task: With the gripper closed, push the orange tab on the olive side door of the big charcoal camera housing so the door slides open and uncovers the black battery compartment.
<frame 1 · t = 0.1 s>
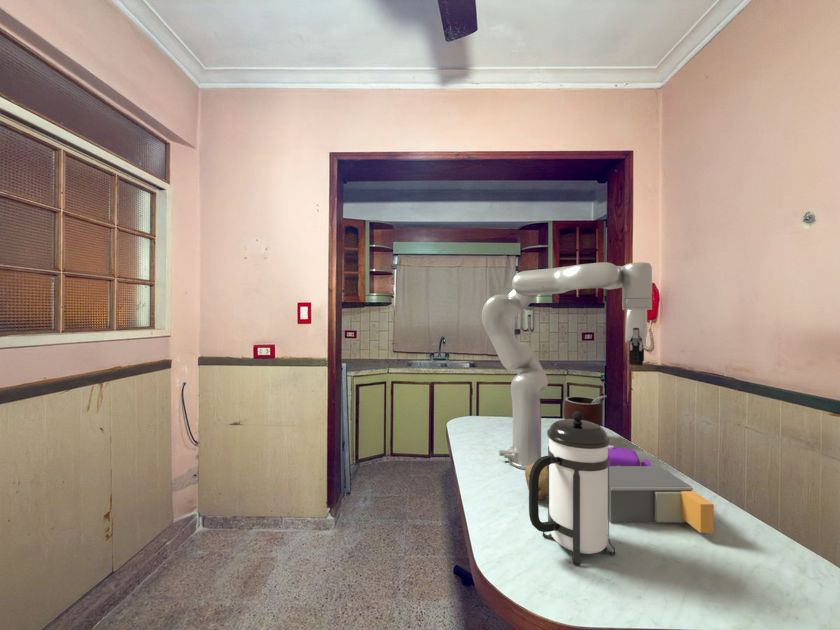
hand: (637, 362, 106), 37 cm above the table, tool pointing down, fingers open, 9 cm apart
side door: (682, 512, 85), point 5 cm above the table, slide at 0.0 cm
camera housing: (636, 509, 95), on the table
natural sponge: (541, 499, 101), on the table
coffee press: (574, 548, 80), on the table
mate gourd: (584, 443, 144), on the table
toy camera: (626, 483, 110), on the table
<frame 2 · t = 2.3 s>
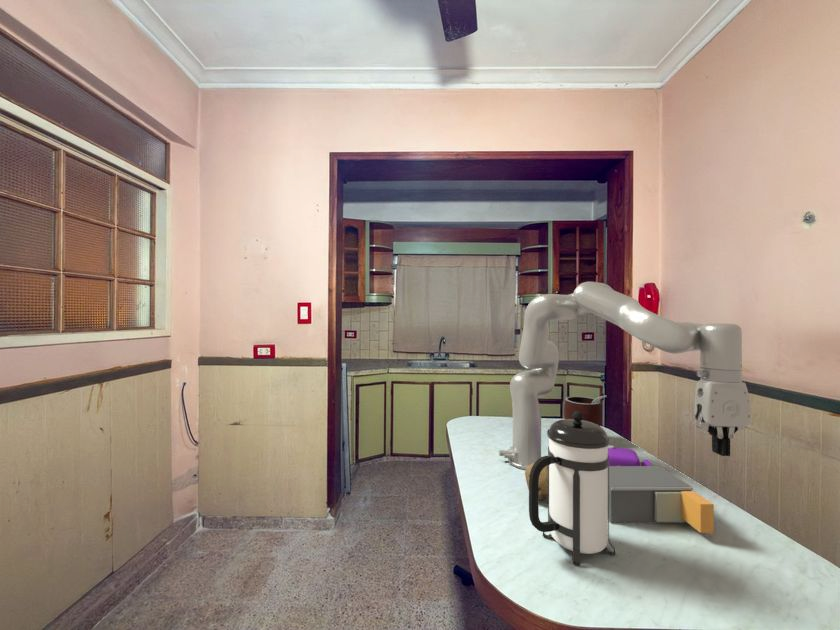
hand: (721, 453, 84), 19 cm above the table, tool pointing down, fingers closed
nothing on the table moved.
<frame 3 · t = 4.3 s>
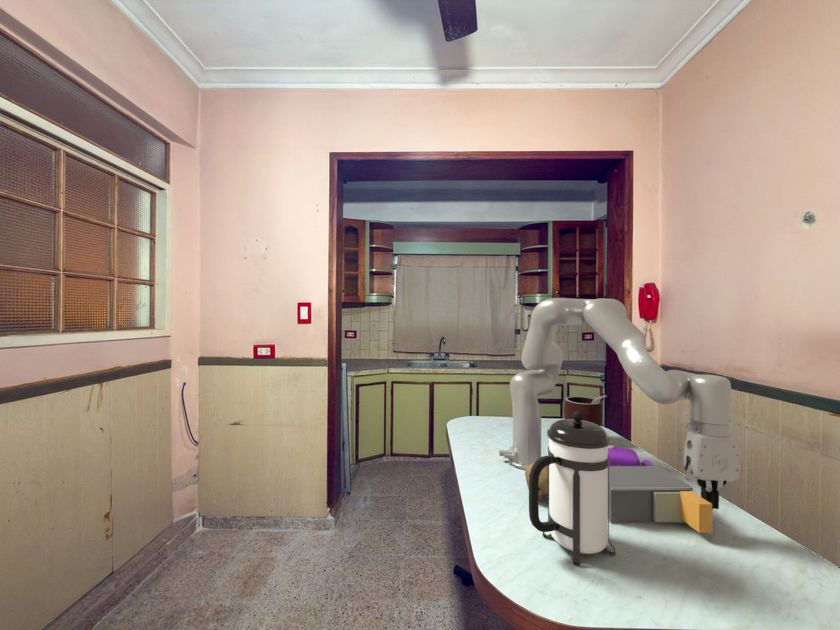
hand: (709, 505, 84), 7 cm above the table, tool pointing down, fingers closed
side door: (681, 512, 85), point 5 cm above the table, slide at 0.3 cm, touching gripper
everything else where it was.
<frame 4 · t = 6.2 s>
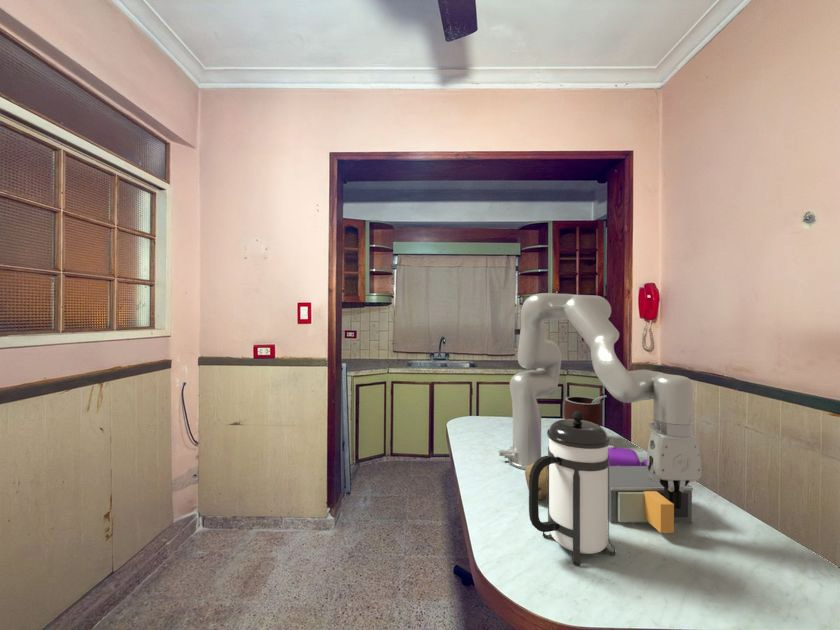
hand: (672, 505, 84), 7 cm above the table, tool pointing down, fingers closed
side door: (644, 512, 85), point 5 cm above the table, slide at 9.1 cm, touching gripper
everything else where it was.
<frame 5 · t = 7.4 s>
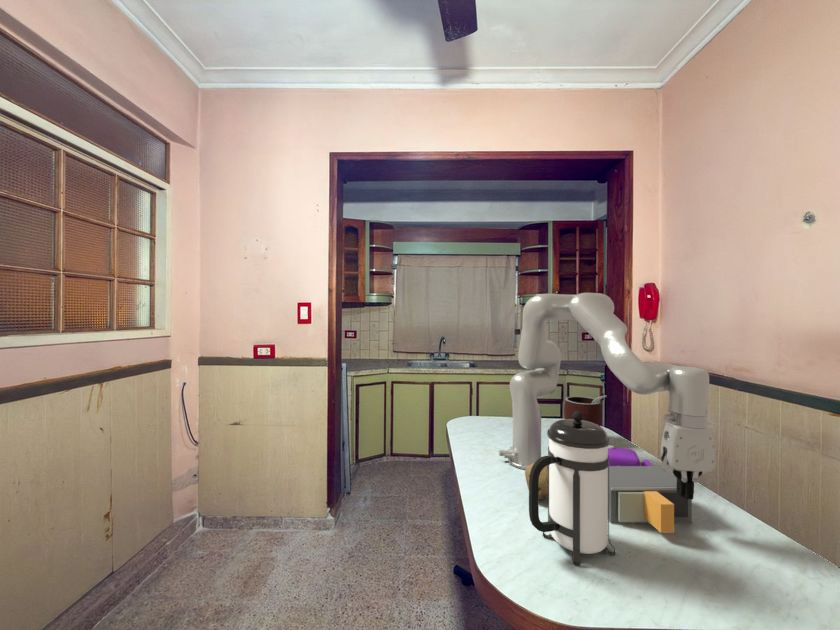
hand: (684, 496, 85), 9 cm above the table, tool pointing down, fingers closed
side door: (644, 512, 85), point 5 cm above the table, slide at 9.0 cm
everything else where it was.
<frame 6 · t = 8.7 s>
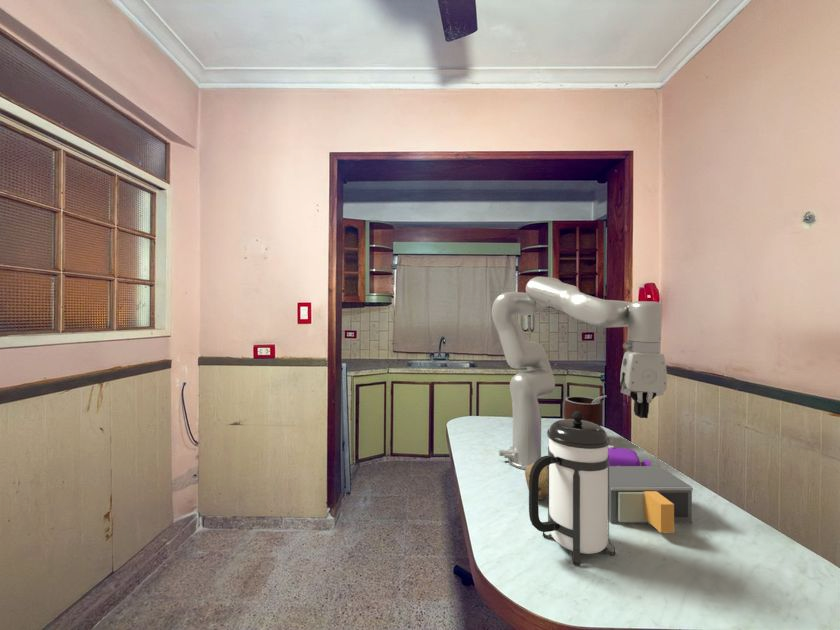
hand: (641, 416, 96), 24 cm above the table, tool pointing down, fingers closed
nothing on the table moved.
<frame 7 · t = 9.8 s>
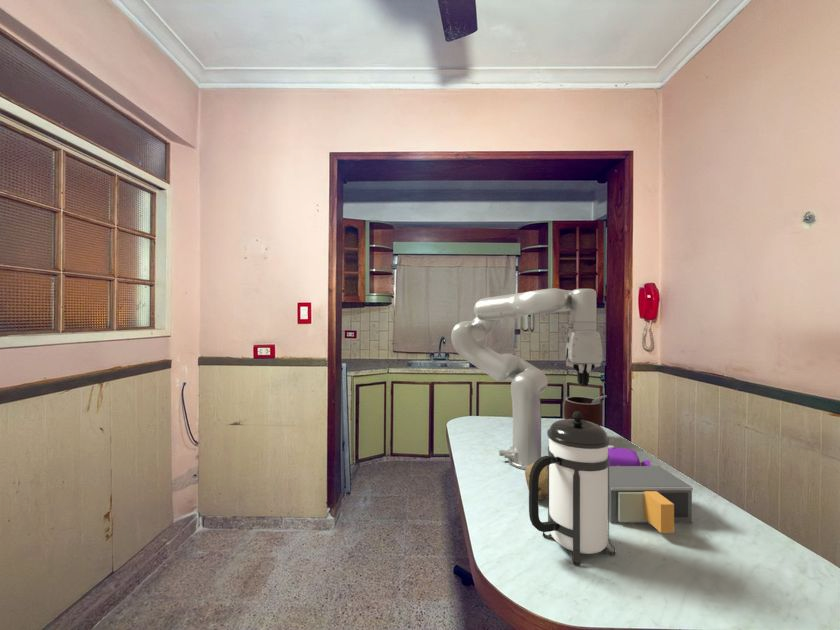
hand: (583, 384, 114), 29 cm above the table, tool pointing down, fingers closed
nothing on the table moved.
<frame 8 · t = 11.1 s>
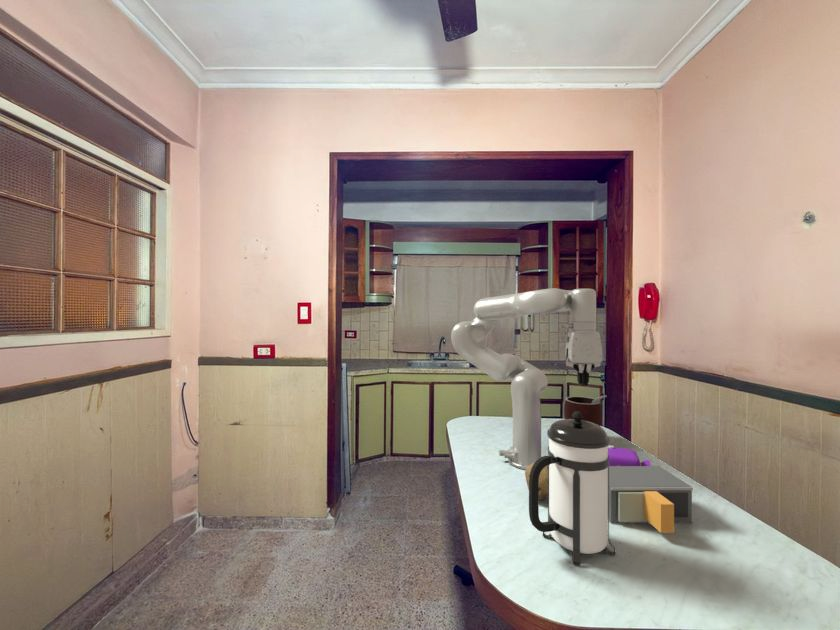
hand: (583, 384, 115), 29 cm above the table, tool pointing down, fingers closed
nothing on the table moved.
at the end: side door slide at 9.0 cm; toy camera moved 0.3 cm from its start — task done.
